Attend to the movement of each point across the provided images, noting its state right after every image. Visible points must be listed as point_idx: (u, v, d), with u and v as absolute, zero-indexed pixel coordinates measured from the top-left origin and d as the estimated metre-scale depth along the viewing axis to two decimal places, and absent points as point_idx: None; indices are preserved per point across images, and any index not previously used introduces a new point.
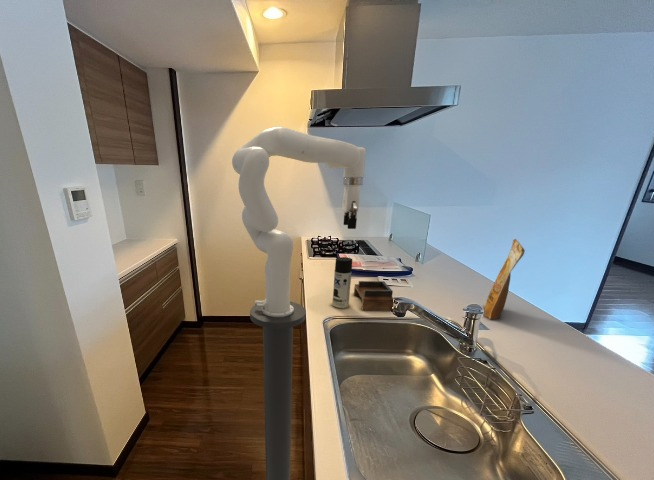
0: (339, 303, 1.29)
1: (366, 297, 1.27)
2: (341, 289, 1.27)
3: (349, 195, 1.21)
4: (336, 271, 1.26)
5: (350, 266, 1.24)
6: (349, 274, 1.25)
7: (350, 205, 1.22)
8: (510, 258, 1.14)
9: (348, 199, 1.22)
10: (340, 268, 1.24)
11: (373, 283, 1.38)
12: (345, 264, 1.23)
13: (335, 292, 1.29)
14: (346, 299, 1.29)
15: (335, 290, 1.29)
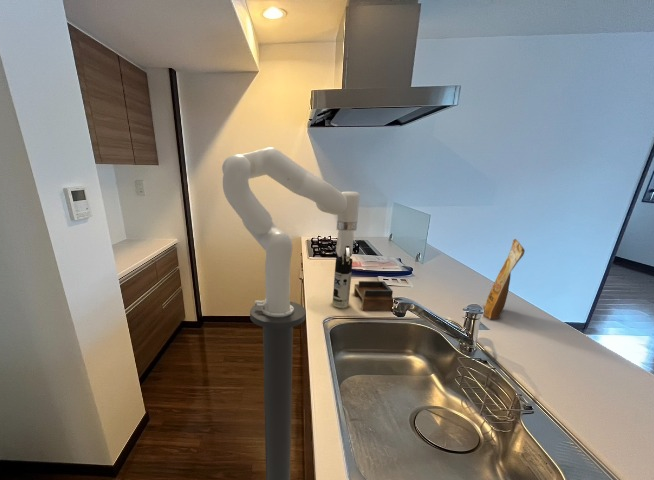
0: (339, 303, 1.29)
1: (366, 297, 1.27)
2: (341, 289, 1.27)
3: (342, 240, 1.18)
4: (336, 271, 1.26)
5: (350, 266, 1.24)
6: (349, 274, 1.25)
7: (344, 250, 1.19)
8: (510, 258, 1.14)
9: (342, 244, 1.18)
10: (340, 268, 1.24)
11: (373, 283, 1.38)
12: None
13: (335, 292, 1.29)
14: (346, 299, 1.29)
15: (335, 290, 1.29)
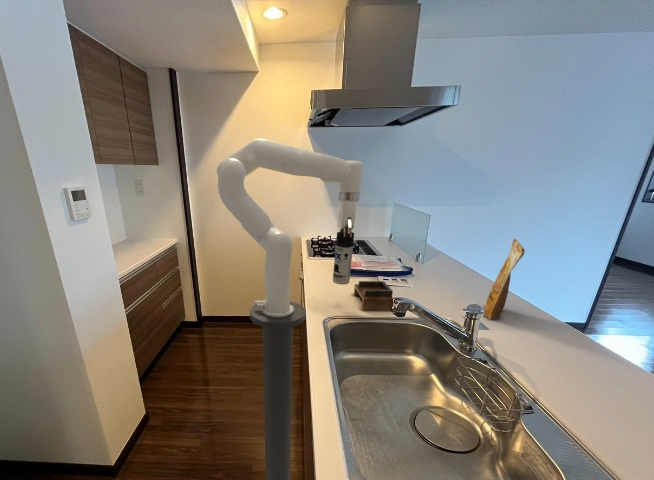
0: (339, 279, 1.25)
1: (366, 297, 1.27)
2: (342, 264, 1.23)
3: (344, 211, 1.14)
4: (337, 245, 1.22)
5: (352, 240, 1.20)
6: (350, 248, 1.21)
7: (345, 221, 1.15)
8: (510, 258, 1.14)
9: (343, 215, 1.15)
10: (341, 242, 1.20)
11: (373, 283, 1.38)
12: None
13: (336, 267, 1.25)
14: (347, 275, 1.25)
15: (335, 265, 1.25)
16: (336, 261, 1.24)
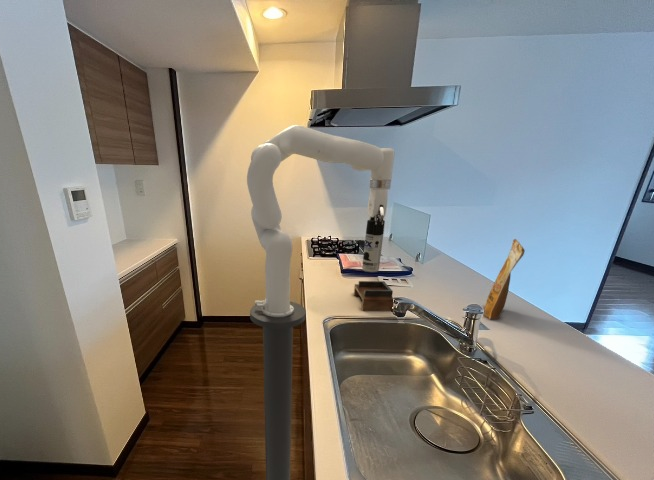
0: (369, 267, 1.26)
1: (366, 297, 1.27)
2: (373, 251, 1.24)
3: (376, 199, 1.15)
4: (368, 233, 1.23)
5: (382, 227, 1.21)
6: (381, 236, 1.22)
7: (377, 209, 1.16)
8: (510, 258, 1.14)
9: (375, 203, 1.16)
10: (372, 230, 1.21)
11: (373, 283, 1.38)
12: None
13: (366, 255, 1.26)
14: (377, 263, 1.26)
15: (365, 253, 1.26)
16: (366, 249, 1.25)
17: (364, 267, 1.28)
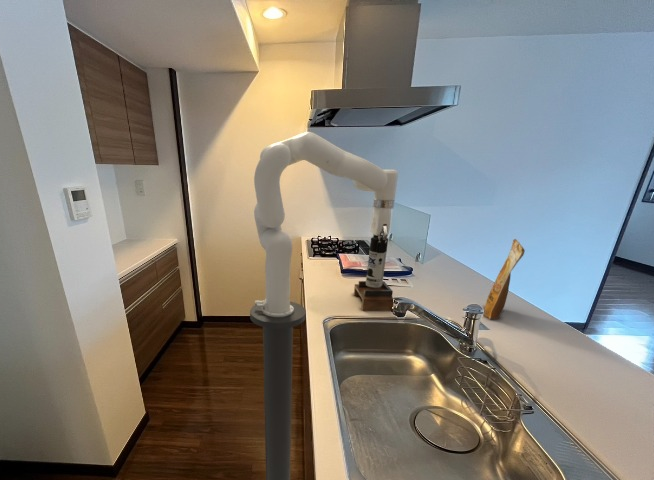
0: (373, 283, 1.29)
1: (366, 297, 1.27)
2: (376, 268, 1.27)
3: (380, 218, 1.18)
4: (371, 250, 1.26)
5: (386, 245, 1.25)
6: (384, 253, 1.25)
7: (381, 228, 1.19)
8: (510, 258, 1.14)
9: (379, 222, 1.19)
10: (376, 247, 1.24)
11: None
12: None
13: (369, 272, 1.29)
14: (381, 279, 1.29)
15: (369, 269, 1.29)
16: (370, 266, 1.28)
17: (368, 283, 1.31)
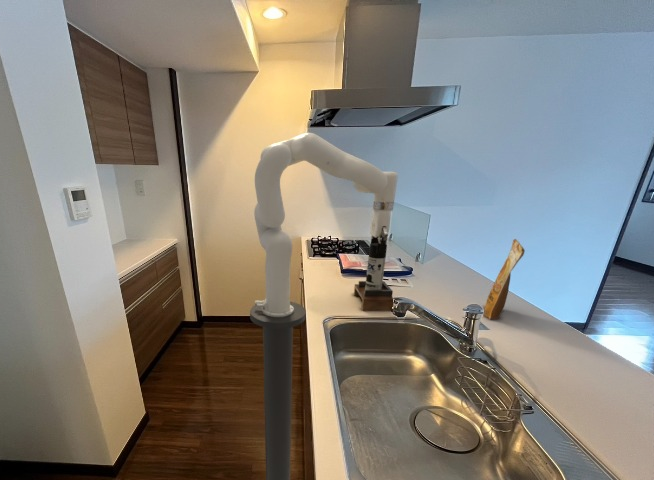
0: (372, 289, 1.30)
1: (366, 297, 1.27)
2: (375, 274, 1.28)
3: (379, 220, 1.19)
4: (370, 256, 1.27)
5: (385, 251, 1.25)
6: (383, 259, 1.26)
7: (380, 230, 1.20)
8: (510, 258, 1.14)
9: (378, 224, 1.19)
10: (375, 253, 1.25)
11: None
12: None
13: (369, 277, 1.30)
14: (380, 285, 1.30)
15: (368, 275, 1.30)
16: (369, 271, 1.29)
17: (367, 288, 1.32)
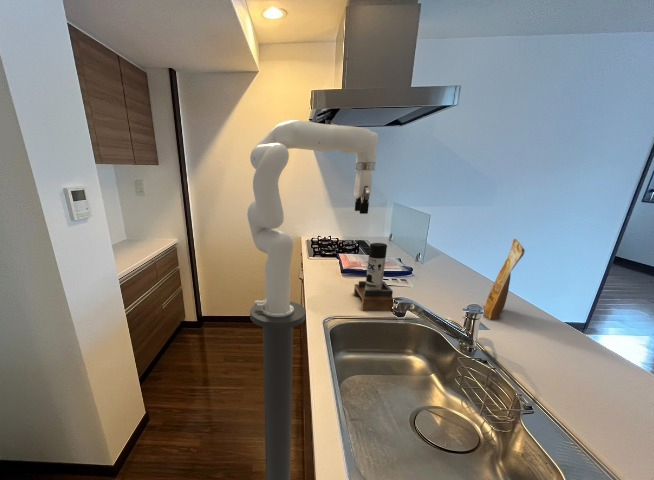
0: (372, 289, 1.30)
1: (366, 297, 1.27)
2: (375, 274, 1.28)
3: (361, 180, 1.23)
4: (370, 256, 1.27)
5: (385, 251, 1.25)
6: (384, 259, 1.26)
7: (362, 190, 1.24)
8: (510, 258, 1.14)
9: (360, 184, 1.23)
10: (375, 253, 1.25)
11: None
12: (381, 249, 1.24)
13: (369, 277, 1.30)
14: (380, 285, 1.30)
15: (368, 275, 1.30)
16: (369, 271, 1.29)
17: (367, 288, 1.32)
